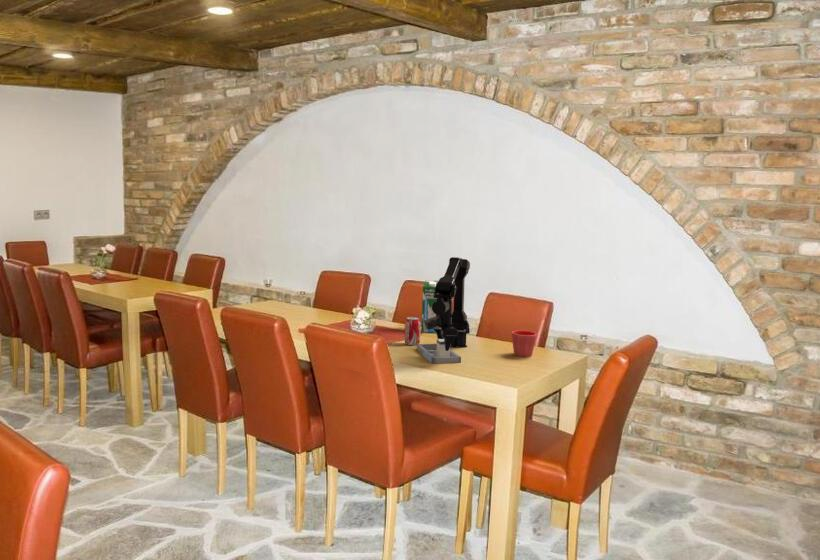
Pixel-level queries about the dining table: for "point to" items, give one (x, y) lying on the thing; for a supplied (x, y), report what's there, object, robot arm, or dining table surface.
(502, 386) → the dining table surface
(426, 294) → the milk carton
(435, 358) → the grey divided tray
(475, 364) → the dining table surface
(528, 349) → the flower pot
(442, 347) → the cylinder
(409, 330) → the soda can
